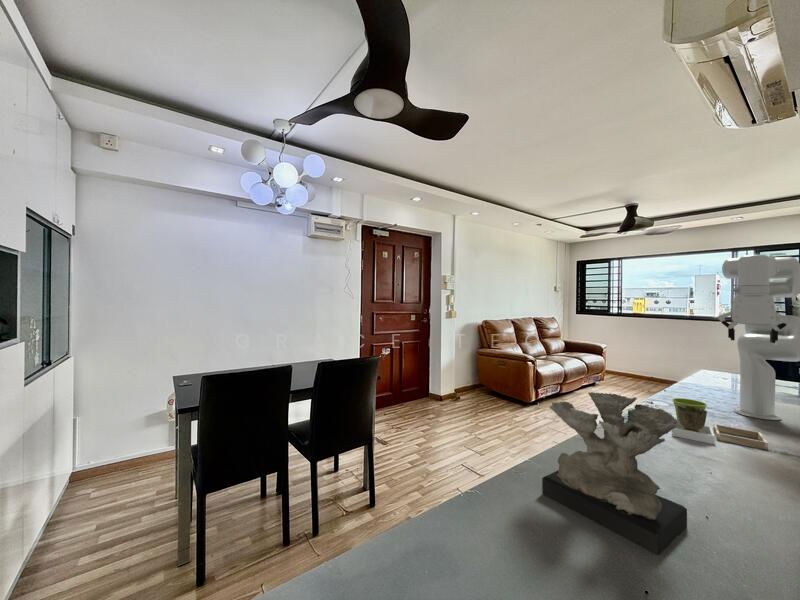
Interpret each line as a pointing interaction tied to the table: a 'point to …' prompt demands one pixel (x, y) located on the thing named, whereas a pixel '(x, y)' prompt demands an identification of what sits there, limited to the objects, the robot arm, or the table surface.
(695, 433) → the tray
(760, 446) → the birch frame
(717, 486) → the table surface
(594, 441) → the coral
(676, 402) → the plant pot
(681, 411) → the cup
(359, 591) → the table surface
